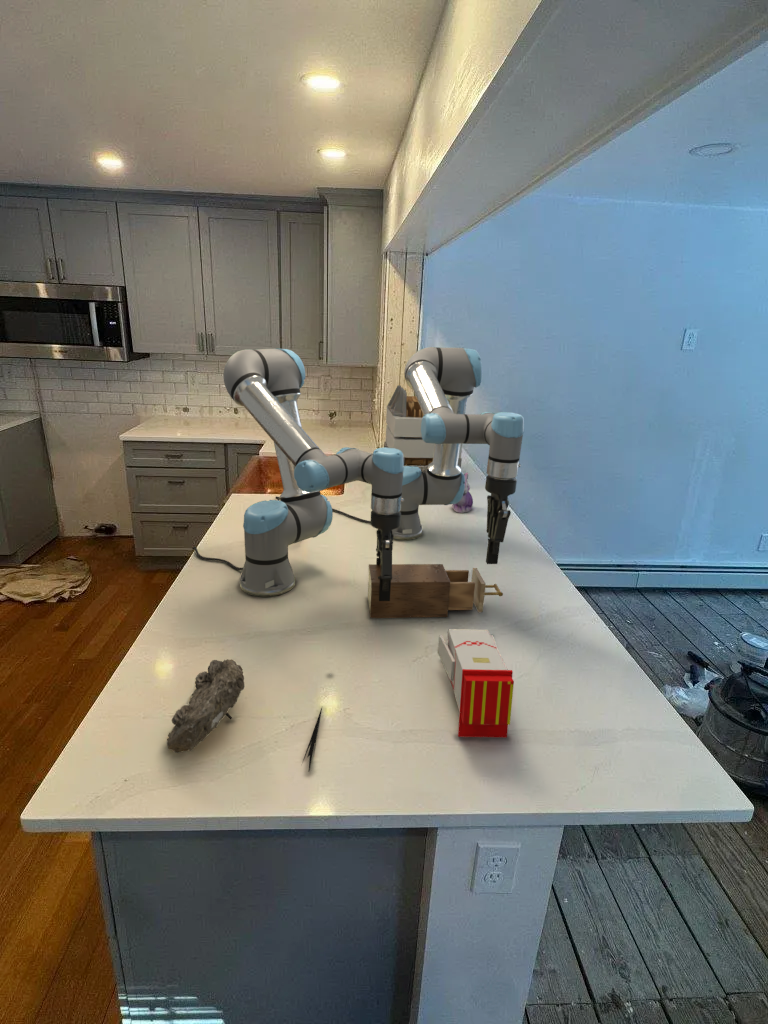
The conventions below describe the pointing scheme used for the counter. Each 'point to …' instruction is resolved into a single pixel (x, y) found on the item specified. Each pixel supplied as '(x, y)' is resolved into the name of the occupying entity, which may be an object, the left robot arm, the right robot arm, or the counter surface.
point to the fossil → (206, 705)
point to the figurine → (464, 499)
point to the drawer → (468, 590)
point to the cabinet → (410, 591)
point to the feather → (313, 740)
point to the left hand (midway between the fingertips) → (382, 590)
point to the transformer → (408, 430)
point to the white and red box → (478, 682)
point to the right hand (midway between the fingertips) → (491, 562)
